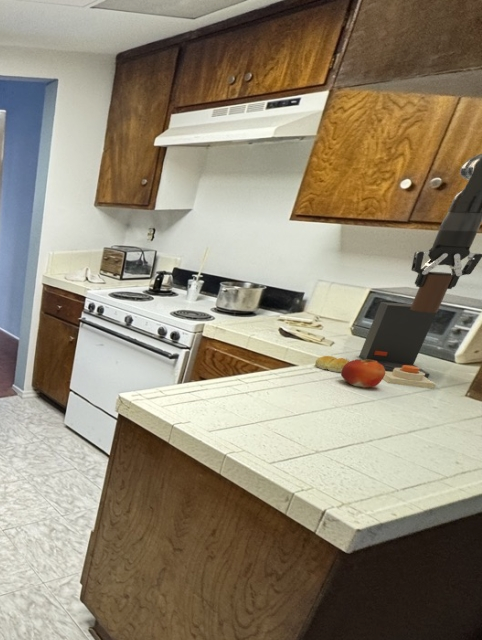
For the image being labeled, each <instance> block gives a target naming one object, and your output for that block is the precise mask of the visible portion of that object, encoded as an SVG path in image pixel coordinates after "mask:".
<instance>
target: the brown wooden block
mask: <svg viewBox="0 0 482 640" xmlns="http://www.w3.org/2000/svg"><path fill="white" fill-rule="evenodd" d="M426 275H427V277H426V279H425V282H424V284H423V286H422V287H418V289H417V291H416V294H415V297H414V298H413V301H412V306H411V308H410V310H414V311H419V312H429V313H436V312H437V313H438V311H439V310H440V307H441V304H442V303H443V301H444V298H445V296H446V294H447V290H449V289H448V287H449V284H450V282H451V280H452V277H453V275H452V272H451V273H450V272H446V271H445V272H444V271H429V272H428V273H427V274H426ZM437 313H436V314H437Z"/></svg>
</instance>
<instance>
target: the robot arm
mask: <svg viewBox="0 0 482 640" xmlns="http://www.w3.org/2000/svg"><path fill="white" fill-rule="evenodd" d="M459 175H460V176H461V177H462V178H463V180H467V183H466V185H465V186H464V188H463V189H462V190H461V191H459V192H457V193H456V194H455V196H454V197H453V198H452V201H451V204H450V206H449V208H448V211H447V213H446V215H445V216H444V218H443V220H442V222H441V224H440V225H439V229H438V232H437V234H436V237H435V238H434V242H433V243H432V246H431V248H430V249H429V250H424V251H421V250H417V251H415V252H414V254H413V258H412V259H413V260H412V264H411V269H410V270H411V271H412V272H414V273H417V276H416V279H415V280H414V285H415V287H417V288H419V287H422V286H423V284H424V282H425V279H426V277H427V275H426V274H427V273H428V272H431V271H432V270H433V269H434V268H436V267H438V266H444V265H445V266H449V269H450V271H451V275H453V277H452V280H451V282H450V284H449V287H448V289H447V290H452V289H453V288H455V287H456V286H457V284H458V281H459V279H460V277H462V276H466V275H469V276H470V275H471V274H472V273H473V271H474V270H475V269H476V267H477V265H478V264H479V262H480V261H481V259H482V253H480V252H479V253H478V252H471V250H470V248H471V247H472V244H473V243H474V240H475V238H476V236H477V234H478V232H479V230H480V227H481V225H482V153H480V154H479V153H478V154H476V155H474V156H472V157H470V158H469V159H467V160H466V161H465V162H464V163H463V164H462V165H461V167H460V169H459ZM427 256H428V258H429V260H428V261H426V263H425V264H424V265H423V266H422V264H423V260H424V259H425V258H426V257H427ZM466 258H467V260H468V261H466V264H465V265H464V266H463V265H462V261H463V260H465V259H466ZM462 266H463V268H462Z"/></svg>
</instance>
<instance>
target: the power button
mask: <svg viewBox="0 0 482 640" xmlns="http://www.w3.org/2000/svg"><path fill="white" fill-rule="evenodd" d="M415 366H416V365H415ZM415 366H410V365H403V366H402V369H401V371H404V372H408V373H415V374H418V371H419V369H421V368H420V367H418V366H417V367H415Z"/></svg>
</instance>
